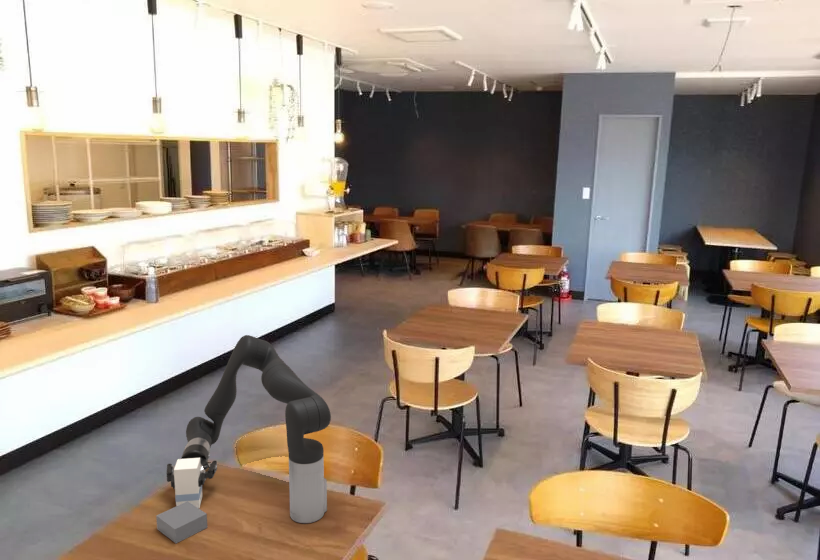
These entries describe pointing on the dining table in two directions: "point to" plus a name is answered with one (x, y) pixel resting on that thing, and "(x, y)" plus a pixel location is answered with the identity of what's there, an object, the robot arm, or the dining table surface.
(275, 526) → the dining table surface
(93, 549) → the dining table surface
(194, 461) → the milk carton
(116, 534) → the dining table surface
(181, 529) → the block
